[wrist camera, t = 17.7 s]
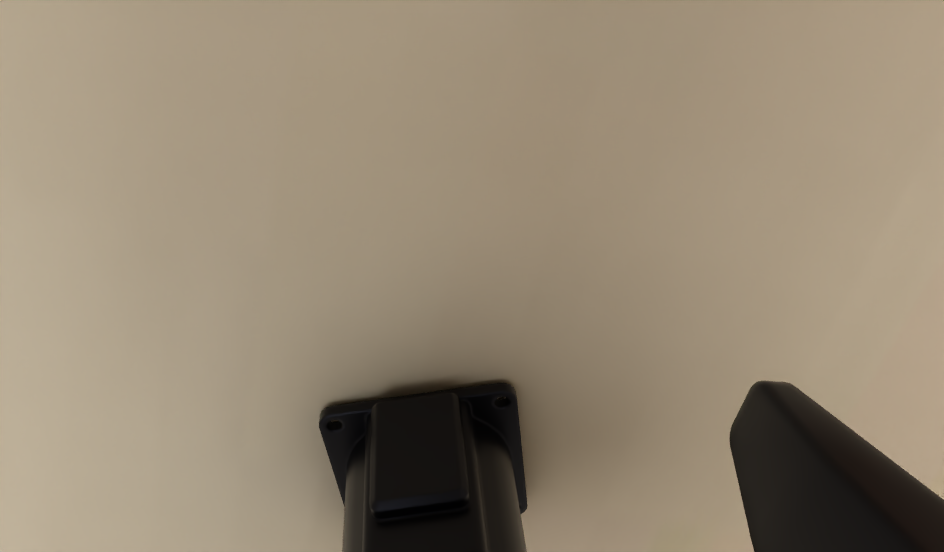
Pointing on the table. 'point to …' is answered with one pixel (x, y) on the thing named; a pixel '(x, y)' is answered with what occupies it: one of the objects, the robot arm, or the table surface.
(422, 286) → the table surface
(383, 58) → the table surface
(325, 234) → the table surface
